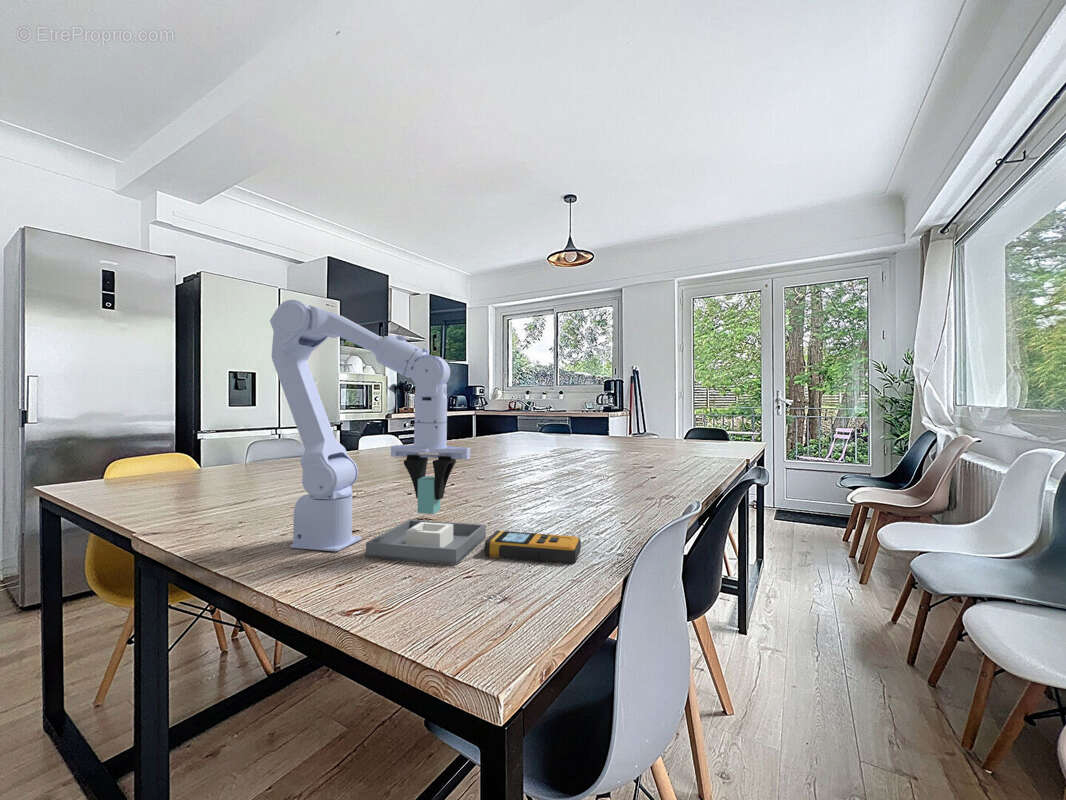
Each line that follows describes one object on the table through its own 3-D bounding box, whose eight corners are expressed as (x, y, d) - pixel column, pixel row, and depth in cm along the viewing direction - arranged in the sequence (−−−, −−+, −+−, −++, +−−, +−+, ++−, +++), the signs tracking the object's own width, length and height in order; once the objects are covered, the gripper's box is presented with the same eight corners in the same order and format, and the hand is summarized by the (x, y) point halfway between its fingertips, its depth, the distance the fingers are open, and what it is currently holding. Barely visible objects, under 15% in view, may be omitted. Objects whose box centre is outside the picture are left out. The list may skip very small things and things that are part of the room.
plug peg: (417, 513, 86) (417, 479, 86) (424, 509, 89) (425, 476, 89) (433, 514, 85) (433, 480, 85) (440, 510, 88) (440, 477, 88)
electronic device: (575, 569, 79) (575, 548, 79) (483, 560, 83) (483, 540, 82) (581, 553, 87) (581, 534, 87) (497, 545, 91) (498, 527, 91)
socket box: (365, 557, 82) (366, 536, 82) (408, 532, 97) (409, 514, 97) (456, 565, 78) (456, 543, 78) (485, 537, 94) (485, 519, 94)
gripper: (382, 422, 85) (381, 500, 85) (461, 424, 82) (460, 505, 82) (401, 420, 92) (400, 492, 92) (474, 422, 89) (473, 496, 89)
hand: (429, 498), depth 87 cm, fingers closed on plug peg, 3 cm apart
